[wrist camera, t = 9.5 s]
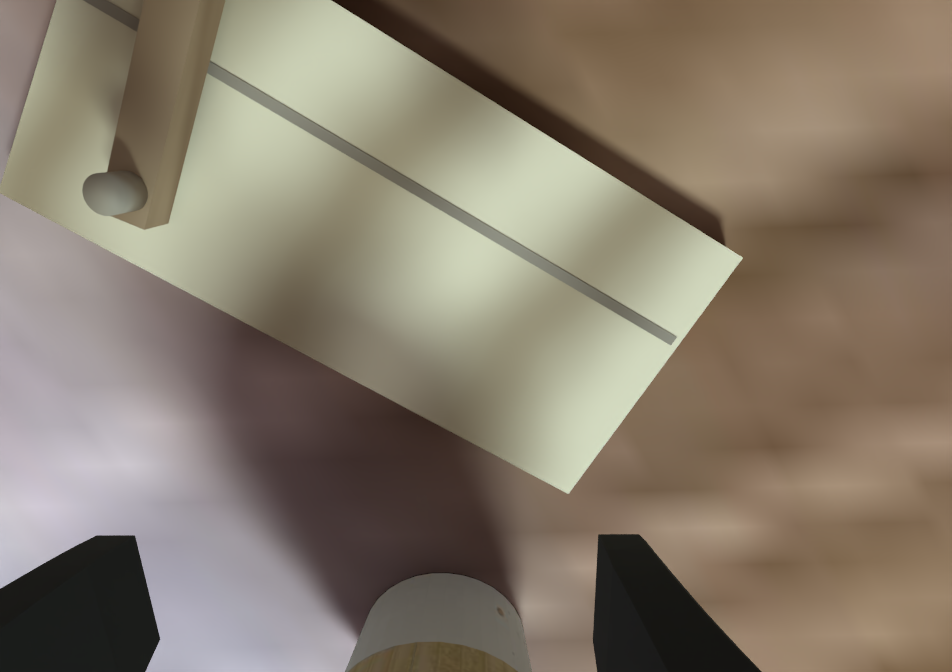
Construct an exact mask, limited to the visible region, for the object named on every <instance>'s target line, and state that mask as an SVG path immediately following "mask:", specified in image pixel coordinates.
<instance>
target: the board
mask: <svg viewBox="0 0 952 672" xmlns="http://www.w3.org/2000/svg"><path fill="white" fill-rule="evenodd" d="M143 2H144V0H57V1H56V4H55V7H54V11H53V14H52V17H51V21H50V24H49V27H48V30H47V34H46V37H45V40H44V44H43V47H42V50H41V53H40V57H39V60H38V63H37V67H36V70H35V73H34V76H33V80H32V83H31V86H30V90H29V93H28V96H27V99H26V103H25V106H24V109H23V113H22V116H21V119H20V122H19V126H18V129H17V132H16V136H15V139H14V142H13V145H12V149H11V152H10V155H9V159H8V162H7V165H6V168H5V172H4V175H3V178H2V182H1V185H0V193H1V194H2V195H4V196H6V197H8V198H10V199H12V200H14V201H16V202H18V203H19V204H21V205H23V206H25V207H27V208H29V209H31V210H33V211H35V212H36V213H38V214H40V215H42V216H44V217H46V218H48V219H50V220H52V221H53V222H55V223H57V224H59V225H61V226H63V227H65V228H67V229H69V230H70V231H72V232H74V233H76V234H78V235H80V236H82V237H84V238H86V239H87V240H89V241H91V242H93V243H95V244H97V245H99V246H101V247H103V248H104V249H106V250H108V251H110V252H112V253H114V254H116V255H118V256H120V257H121V258H123V259H125V260H127V261H129V262H131V263H133V264H135V265H137V266H138V267H140V268H142V269H144V270H146V271H148V272H150V273H152V274H154V275H156V276H157V277H159V278H161V279H163V280H165V281H167V282H169V283H171V284H173V285H174V286H176V287H178V288H180V289H182V290H184V291H186V292H188V293H190V294H191V295H193V296H195V297H197V298H199V299H201V300H203V301H205V302H207V303H208V304H210V305H212V306H214V307H216V308H218V309H220V310H222V311H224V312H225V313H227V314H229V315H231V316H233V317H235V318H237V319H239V320H241V321H242V322H244V323H246V324H248V325H250V326H252V327H254V328H256V329H258V330H259V331H261V332H263V333H265V334H267V335H269V336H271V337H273V338H275V339H276V340H278V341H280V342H282V343H284V344H286V345H288V346H290V347H292V348H293V349H295V350H297V351H299V352H301V353H303V354H305V355H307V356H309V357H310V358H312V359H314V360H316V361H318V362H320V363H322V364H324V365H326V366H327V367H329V368H331V369H333V370H335V371H337V372H339V373H341V374H343V375H344V376H346V377H348V378H350V379H352V380H354V381H356V382H358V383H360V384H362V385H363V386H365V387H367V388H369V389H371V390H373V391H375V392H377V393H379V394H380V395H382V396H384V397H386V398H388V399H390V400H392V401H394V402H396V403H397V404H399V405H401V406H403V407H405V408H407V409H409V410H411V411H413V412H414V413H416V414H418V415H420V416H422V417H424V418H426V419H428V420H430V421H431V422H433V423H435V424H437V425H439V426H441V427H443V428H445V429H447V430H448V431H450V432H452V433H454V434H456V435H458V436H460V437H462V438H464V439H465V440H467V441H469V442H471V443H473V444H475V445H477V446H479V447H481V448H482V449H484V450H486V451H488V452H490V453H492V454H494V455H496V456H498V457H499V458H501V459H503V460H505V461H507V462H509V463H511V464H513V465H515V466H516V467H518V468H520V469H522V470H524V471H526V472H528V473H530V474H532V475H533V476H535V477H537V478H539V479H541V480H543V481H545V482H547V483H549V484H550V485H552V486H554V487H556V488H558V489H560V490H562V491H564V492H566V493H568V494H569V492H570V491H571V490H572V488H573V487H574V486H575V484H576V483H577V482H578V480H579V479H580V477H581V476H582V475H583V473H584V472H585V471H586V469H587V468H588V467H589V465H590V464H591V463H592V461H593V460H594V459H595V457H596V456H597V454H598V453H599V452H600V450H601V449H602V448H603V446H604V445H605V444H606V442H607V441H608V440H609V438H610V437H611V436H612V434H613V433H614V431H615V430H616V429H617V427H618V426H619V425H620V423H621V422H622V421H623V419H624V418H625V417H626V415H627V414H628V413H629V411H630V410H631V408H632V407H633V406H634V404H635V403H636V402H637V400H638V399H639V398H640V396H641V395H642V394H643V392H644V391H645V390H646V388H647V387H648V386H649V384H650V383H651V381H652V380H653V379H654V377H655V376H656V375H657V373H658V372H659V371H660V369H661V368H662V367H663V365H664V364H665V363H666V361H667V360H668V358H669V357H670V356H671V354H672V353H673V352H674V350H675V349H676V348H677V346H678V345H679V344H680V342H681V341H682V340H683V338H684V337H685V335H686V334H687V333H688V331H689V330H690V329H691V327H692V326H693V325H694V323H695V322H696V321H697V319H698V318H699V317H700V315H701V314H702V312H703V311H704V310H705V308H706V307H707V306H708V304H709V303H710V302H711V300H712V299H713V298H714V296H715V295H716V294H717V292H718V291H719V289H720V288H721V287H722V285H723V284H724V283H725V281H726V280H727V279H728V277H729V276H730V275H731V273H732V272H733V271H734V269H735V268H736V266H737V265H738V264H739V262H740V261H741V260H742V257H741V256H739V255H738V254H736V253H734V252H733V251H731V250H730V249H728V248H726V247H725V246H723V245H722V244H720V243H718V242H717V241H715V240H714V239H712V238H710V237H709V236H707V235H706V234H704V233H702V232H701V231H699V230H698V229H696V228H695V227H693V226H691V225H690V224H688V223H687V222H685V221H683V220H682V219H680V218H679V217H677V216H675V215H674V214H672V213H671V212H669V211H667V210H666V209H664V208H663V207H661V206H659V205H658V204H656V203H655V202H653V201H651V200H650V199H648V198H647V197H645V196H643V195H642V194H640V193H639V192H637V191H635V190H634V189H632V188H631V187H629V186H627V185H626V184H624V183H623V182H621V181H619V180H618V179H616V178H615V177H613V176H611V175H610V174H608V173H607V172H605V171H603V170H602V169H600V168H599V167H597V166H595V165H594V164H592V163H591V162H589V161H587V160H586V159H584V158H583V157H581V156H579V155H578V154H576V153H575V152H573V151H571V150H570V149H568V148H567V147H565V146H563V145H562V144H560V143H559V142H557V141H555V140H554V139H552V138H551V137H549V136H547V135H546V134H544V133H543V132H541V131H539V130H538V129H536V128H535V127H533V126H531V125H530V124H528V123H527V122H525V121H523V120H522V119H520V118H519V117H517V116H515V115H514V114H512V113H511V112H509V111H507V110H506V109H504V108H503V107H501V106H499V105H498V104H496V103H495V102H493V101H491V100H490V99H488V98H487V97H485V96H483V95H482V94H480V93H479V92H477V91H476V90H474V89H472V88H471V87H469V86H468V85H466V84H464V83H463V82H461V81H460V80H458V79H456V78H455V77H453V76H452V75H450V74H448V73H447V72H445V71H444V70H442V69H440V68H439V67H437V66H436V65H434V64H432V63H431V62H429V61H428V60H426V59H424V58H423V57H421V56H420V55H418V54H416V53H415V52H413V51H412V50H410V49H408V48H407V47H405V46H404V45H402V44H400V43H399V42H397V41H396V40H394V39H392V38H391V37H389V36H388V35H386V34H384V33H383V32H381V31H380V30H378V29H376V28H375V27H373V26H372V25H370V24H368V23H367V22H365V21H364V20H362V19H360V18H359V17H357V16H356V15H354V14H352V13H351V12H349V11H348V10H346V9H344V8H343V7H341V6H340V5H338V4H336V3H335V2H333V1H332V0H225V4H224V8H223V12H222V16H221V20H220V24H219V28H218V32H217V35H216V39H215V43H214V47H213V51H212V55H211V59H210V63H209V67H208V71H207V75H206V78H205V82H204V86H203V90H202V94H201V98H200V102H199V106H198V110H197V114H196V118H195V122H194V125H193V129H192V133H191V137H190V141H189V145H188V149H187V153H186V157H185V161H184V165H183V168H182V172H181V176H180V180H179V184H178V188H177V192H176V196H175V200H174V204H173V208H172V212H171V215H170V219H169V223H168V224H165V225H161V226H157V227H153V228H150V229H146V230H143V229H141V228H138V227H136V226H134V225H131V224H129V223H126V222H124V221H121V220H119V219H116V218H114V217H112V216H103V215H100V214H97V213H96V212H94V211H93V210H91V209H90V208H89V206H88V205H87V204H86V202H85V200H84V197H83V193H82V188H83V183H84V181H85V180H86V178H87V177H89V176H90V175H92V174H95V173H104V172H107V169H108V165H109V160H110V155H111V151H112V146H113V142H114V137H115V132H116V128H117V123H118V118H119V114H120V109H121V104H122V100H123V95H124V91H125V86H126V81H127V77H128V72H129V67H130V63H131V58H132V53H133V49H134V44H135V39H136V35H137V30H138V26H139V21H140V16H141V12H142V7H143Z"/></svg>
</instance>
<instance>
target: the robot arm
mask: <svg viewBox="0 0 952 672" xmlns="http://www.w3.org/2000/svg"><path fill="white" fill-rule="evenodd" d="M159 640H160V637H159V633H158V629H157V624H156V620H155V616H154V612H153V608H152V604H151V600H150V596H149V592H148V588H147V583H146V579H145V575H144V571H143V567H142V563H141V559H140V555H139V551H138V547H137V542H136V538H135V536H95V537H93V538H91V539H89V540H87V541H85V542H83V543H81V544H79V545H77V546H75V547H73V548H71V549H69V550H68V551H66V552H64V553H62V554H60V555H58V556H57V557H55V558H53V559H51V560H50V561H48V562H46V563H44V564H42V565H41V566H39V567H37V568H35V569H34V570H32V571H30V572H29V573H27V574H25V575H23V576H22V577H20V578H18V579H16V580H15V581H13V582H11V583H10V584H8V585H6V586H4V587H3V588H1V589H0V672H145V671H146V669H147V667H148V664H149V662H150V660H151V658H152V656H153V653H154V651H155V649H156V647H157V645H158V642H159ZM593 644H594V651H595V658H596V665H597V672H761V671H760V670H759V669H758V668H757V667H756V665H755V664H754V663H753V662H752V661H751V660H750V659H749V658H748V657H747V656H746V655H745V654H744V653H743V652H742V651H741V650H740V649H739V648H738V647H737V646H736V644H735V643H734V642H733V641H732V640H731V639H730V638H729V637H728V636H727V635H726V634H725V633H724V631H723V630H722V629H721V628H720V627H719V626H718V625H717V624H716V623H715V622H714V621H713V620H712V618H711V617H710V616H709V615H708V614H707V613H706V612H705V611H704V610H703V608H702V607H701V606H700V605H699V604H698V603H697V602H696V601H695V599H694V598H693V597H692V596H691V595H690V594H689V592H688V591H687V590H686V589H685V588H684V587H683V585H682V584H681V583H680V582H679V581H678V580H677V578H676V577H675V576H674V575H673V574H672V572H671V571H670V570H669V569H668V568H667V566H666V565H665V564H664V563H663V562H662V560H661V559H660V558H659V557H658V556H657V554H656V553H655V552H654V551H653V550H652V548H651V547H650V546H649V545H648V543H647V542H646V541H645V540H644V539H643V538H642V537H641V536H640V535H639V534H610V535H598V554H597V573H596V592H595V611H594V630H593Z"/></svg>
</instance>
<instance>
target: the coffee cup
mask: <svg viewBox="0 0 952 672" xmlns="http://www.w3.org/2000/svg"><path fill="white" fill-rule="evenodd" d="M345 672H532V669H531V664H530V660H529V655H528V650H527V645H526V640H525V635H524V631H523V627H522V623H521V620H520V617H519V616H518V614H517V612H516V610H515V608H514V607H513V606H512V604H511V603H510V602H509V601H508V600H507V599H506V598H505V597H504V596H503V595H502V594H501V593H499V592H498V591H497V590H495V589H494V588H493V587H491V586H489V585H487V584H485V583H483V582H481V581H479V580H476V579H473V578H470V577H467V576H464V575H457V574H450V573H431V574H425V575H420V576H415V577H412V578H410V579H407V580H404V581H401V582H400V583H398V584H396V585H395V586H393V587H391V588H390V589H388V590H387V591H386V592H385V593H384V594H383V595H382V596H380V597H379V598H378V600H377V601H376V602H375V604H374V605H373V607H372V608H371V610H370V612H369V615H368V617H367V620H366V622H365V624H364V627H363V629H362V632H361V634H360V637H359V639H358V641H357V644H356V646H355V649H354V651H353V654H352V656H351V658H350V661H349V663H348V666H347V668H346V671H345Z"/></svg>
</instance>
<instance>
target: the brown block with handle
mask: <svg viewBox="0 0 952 672" xmlns="http://www.w3.org/2000/svg"><path fill="white" fill-rule="evenodd" d="M224 4H225V0H144V2H143V7H142V12H141V16H140V21H139V26H138V30H137V35H136V39H135V44H134V49H133V53H132V58H131V63H130V67H129V72H128V77H127V81H126V86H125V91H124V95H123V100H122V104H121V109H120V114H119V118H118V123H117V128H116V132H115V137H114V142H113V146H112V151H111V155H110V160H109V165H108V169H107V172H104V173H95V174H92V175H90V176H89V177H87V178H86V180H85V181H84V183H83V188H82V193H83V197H84V200H85V202H86V204H87V205H88V206H89V208H90V209H91V210H93V211H94V212H96V213H97V214H100V215H103V216H112V217H114V218H116V219H119V220H121V221H124V222H126V223H129V224H131V225H134V226H136V227H138V228H141V229H143V230H146V229H150V228H153V227H157V226H161V225H165V224H168V223H169V219H170V215H171V212H172V208H173V204H174V200H175V196H176V192H177V188H178V184H179V180H180V176H181V172H182V168H183V165H184V161H185V157H186V153H187V149H188V145H189V141H190V137H191V133H192V129H193V125H194V122H195V118H196V114H197V110H198V106H199V102H200V98H201V94H202V90H203V86H204V82H205V78H206V75H207V71H208V67H209V63H210V59H211V55H212V51H213V47H214V43H215V39H216V35H217V32H218V28H219V24H220V20H221V16H222V12H223V8H224Z"/></svg>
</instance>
